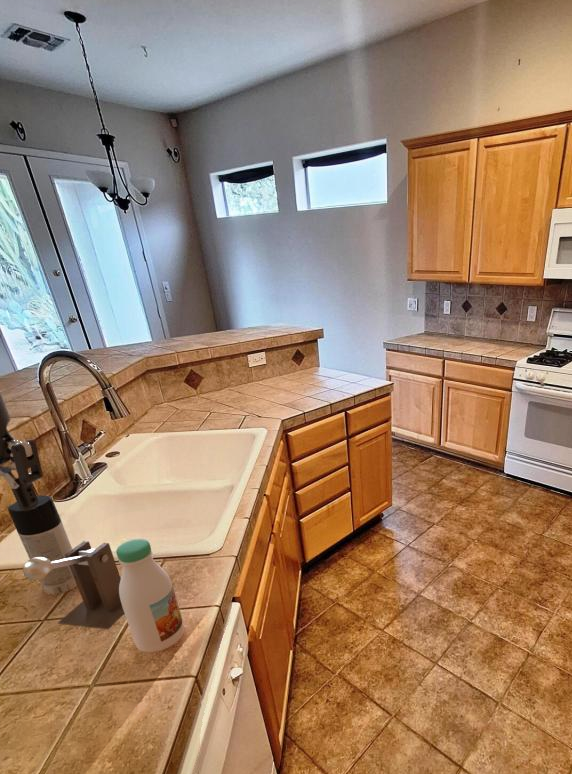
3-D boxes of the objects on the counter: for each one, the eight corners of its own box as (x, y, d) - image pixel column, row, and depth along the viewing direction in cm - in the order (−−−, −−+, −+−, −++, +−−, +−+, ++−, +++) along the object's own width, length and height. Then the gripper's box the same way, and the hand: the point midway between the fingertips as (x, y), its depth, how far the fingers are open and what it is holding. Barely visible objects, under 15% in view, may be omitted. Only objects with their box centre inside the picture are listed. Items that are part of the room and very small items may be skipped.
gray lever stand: (110, 633, 77) (86, 571, 71) (59, 627, 78) (32, 566, 72) (152, 590, 88) (135, 533, 82) (107, 585, 89) (87, 528, 83)
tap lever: (36, 583, 66) (37, 560, 66) (15, 581, 66) (16, 558, 66) (104, 566, 79) (105, 546, 79) (87, 564, 79) (88, 545, 79)
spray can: (93, 579, 90) (61, 495, 81) (65, 600, 84) (28, 513, 76) (65, 575, 91) (31, 492, 82) (36, 596, 85) (-4, 509, 76)
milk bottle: (146, 664, 71) (113, 566, 62) (130, 640, 76) (96, 546, 67) (193, 638, 76) (168, 545, 67) (175, 617, 81) (149, 527, 72)
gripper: (36, 388, 58) (75, 498, 65) (-58, 383, 59) (-9, 491, 67) (-20, 402, 51) (31, 523, 59) (-124, 396, 53) (-61, 515, 60)
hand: (10, 506), depth 63 cm, fingers open, 5 cm apart
